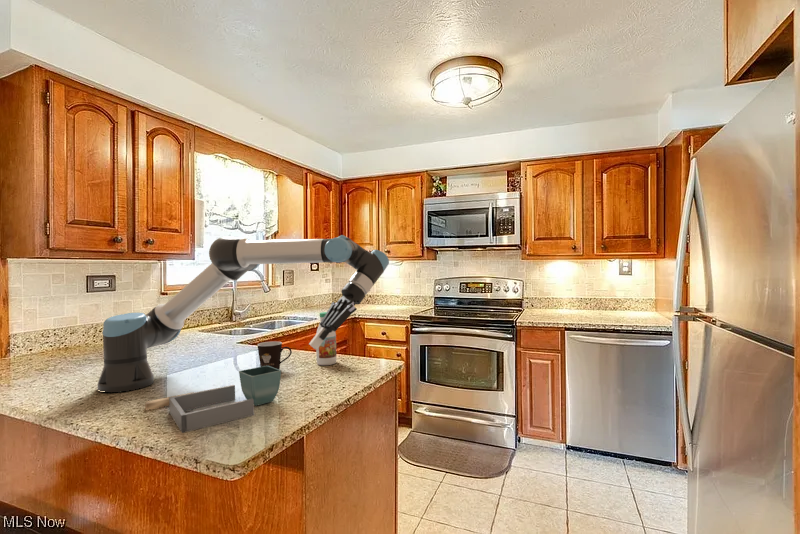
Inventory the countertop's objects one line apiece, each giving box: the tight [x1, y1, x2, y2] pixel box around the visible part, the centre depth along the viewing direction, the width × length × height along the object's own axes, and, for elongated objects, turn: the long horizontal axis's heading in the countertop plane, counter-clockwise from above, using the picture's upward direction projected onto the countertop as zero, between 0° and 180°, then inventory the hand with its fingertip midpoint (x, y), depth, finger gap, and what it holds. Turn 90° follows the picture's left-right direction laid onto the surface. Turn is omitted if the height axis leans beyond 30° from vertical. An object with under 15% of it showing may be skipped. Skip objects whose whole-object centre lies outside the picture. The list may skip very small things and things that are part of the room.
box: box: [168, 384, 255, 434], centre depth 103 cm, size 16×17×4 cm
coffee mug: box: [257, 341, 293, 370], centre depth 144 cm, size 12×9×10 cm
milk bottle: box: [315, 311, 338, 366], centre depth 154 cm, size 8×8×20 cm
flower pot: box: [238, 366, 282, 407], centre depth 111 cm, size 9×9×9 cm
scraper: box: [144, 391, 195, 411], centre depth 112 cm, size 15×8×2 cm, turn 129°
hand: (312, 346), depth 121 cm, fingers closed
